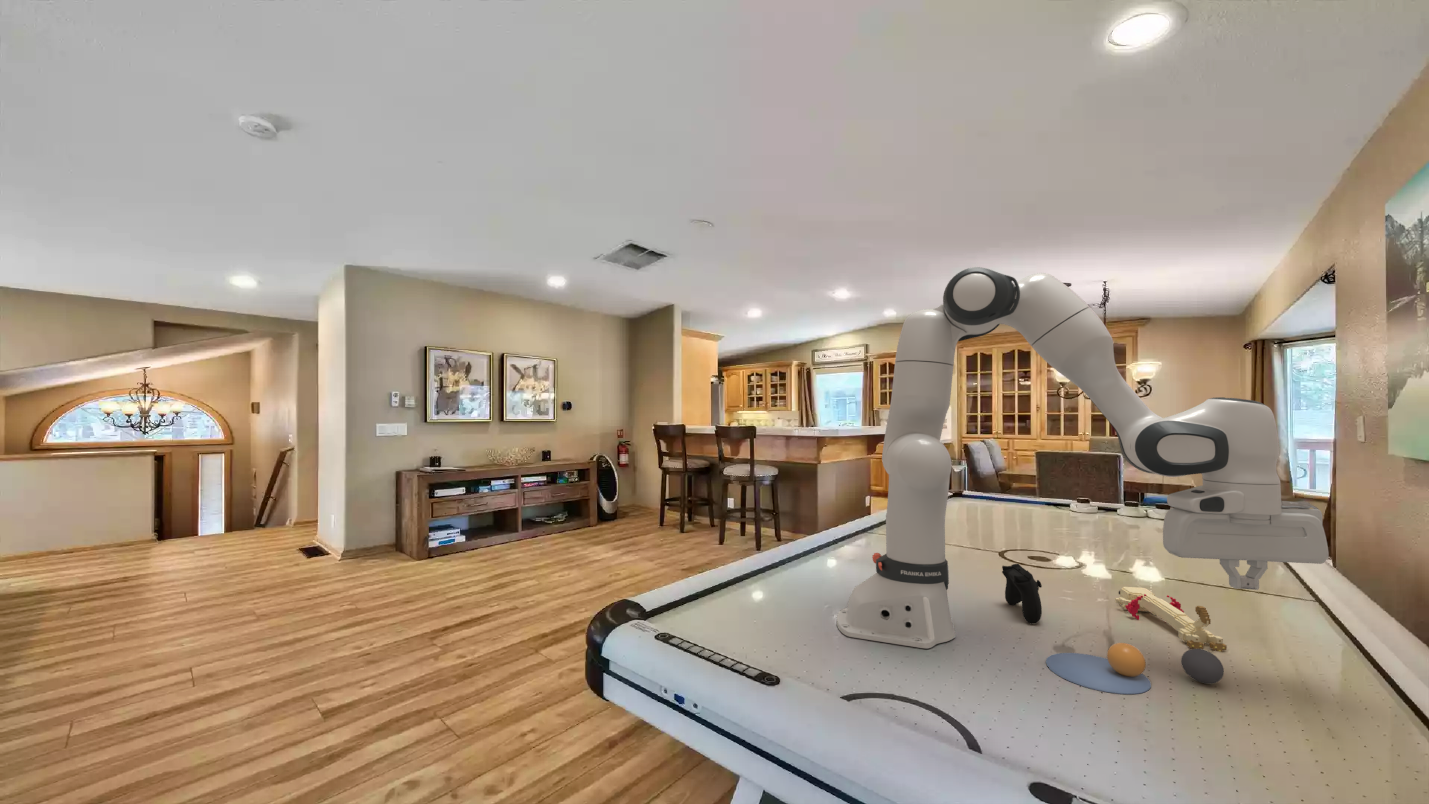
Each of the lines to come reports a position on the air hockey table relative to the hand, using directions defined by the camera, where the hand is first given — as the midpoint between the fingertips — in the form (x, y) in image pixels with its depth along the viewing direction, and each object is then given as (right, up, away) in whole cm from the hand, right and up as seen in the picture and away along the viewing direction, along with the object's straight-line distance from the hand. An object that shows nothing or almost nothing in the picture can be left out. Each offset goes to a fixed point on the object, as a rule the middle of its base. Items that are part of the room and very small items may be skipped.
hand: (1244, 588), depth 84 cm
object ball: (-16, -13, +3) cm, 21 cm away
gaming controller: (-17, -17, +31) cm, 39 cm away
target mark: (-21, -15, +4) cm, 26 cm away
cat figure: (+8, -17, +24) cm, 31 cm away
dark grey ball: (-6, -13, +1) cm, 14 cm away
